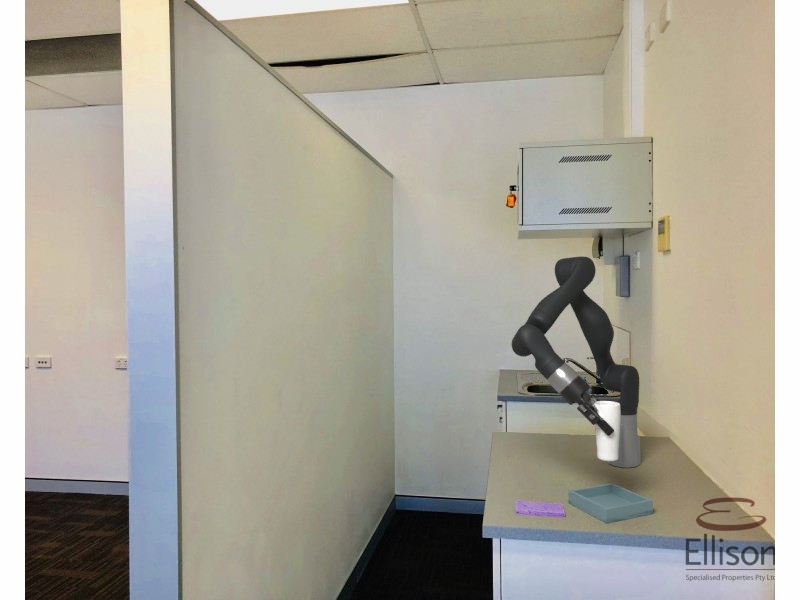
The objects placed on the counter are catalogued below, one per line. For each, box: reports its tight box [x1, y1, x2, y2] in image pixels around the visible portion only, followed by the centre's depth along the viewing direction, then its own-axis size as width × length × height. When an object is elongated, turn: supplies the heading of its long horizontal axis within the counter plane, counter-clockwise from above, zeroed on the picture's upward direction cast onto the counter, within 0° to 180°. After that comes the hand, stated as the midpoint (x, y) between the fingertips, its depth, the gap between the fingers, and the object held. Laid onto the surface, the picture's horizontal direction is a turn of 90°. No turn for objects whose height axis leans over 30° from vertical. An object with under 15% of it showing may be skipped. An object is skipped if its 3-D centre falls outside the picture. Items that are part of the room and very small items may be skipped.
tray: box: [567, 482, 654, 524], centre depth 151 cm, size 15×15×4 cm
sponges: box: [515, 499, 566, 518], centre depth 150 cm, size 7×13×2 cm, turn 78°
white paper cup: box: [594, 400, 621, 462], centre depth 151 cm, size 7×7×15 cm
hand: (613, 430), depth 150 cm, fingers closed on white paper cup, 6 cm apart
